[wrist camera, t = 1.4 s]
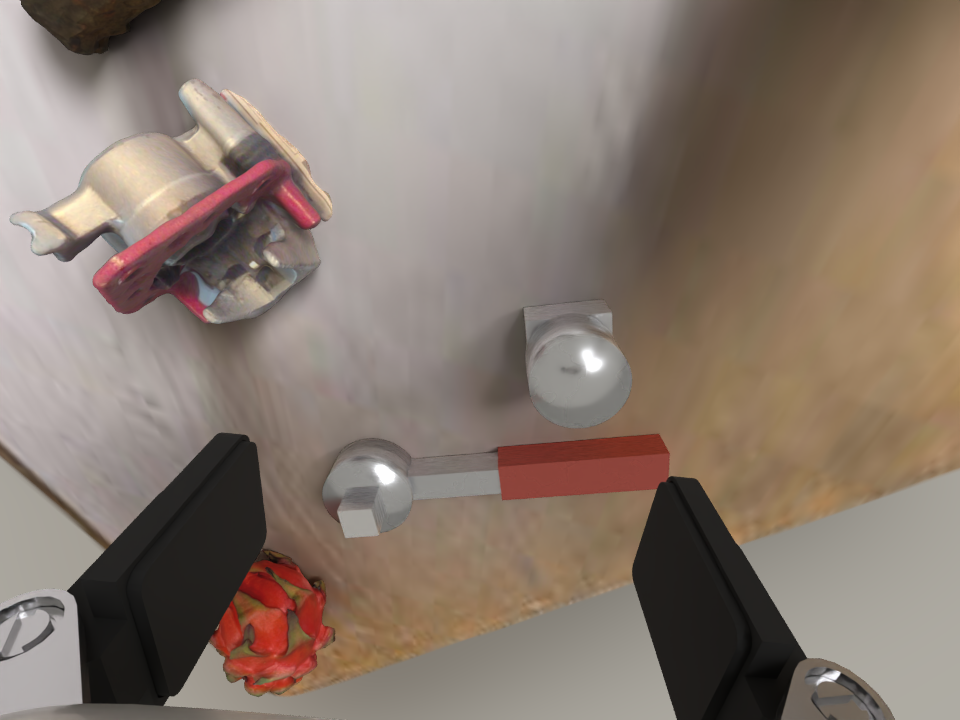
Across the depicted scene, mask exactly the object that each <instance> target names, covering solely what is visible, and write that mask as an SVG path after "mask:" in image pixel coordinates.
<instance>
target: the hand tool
mask: <svg viewBox="0 0 960 720" xmlns="http://www.w3.org/2000/svg"><path fill="white" fill-rule="evenodd" d="M20 1H21V5H22V7H23V8H24V10H25V11H26V12H27V13H28V14H29V15H30V16H31V17H32V18H33V19H34V20H35V21H36V22H38V23H39V24H40V25H42V26H43V27H44V28H46V29H47V30H48V31H49V32H50V33H51V34H52V35H53V36H54V37H56V38H57V39H58V40H59V41H60V42H61V43H62V44H63V45H64V46H65V47H66V48H67V49H68V50H70V51H72V52H75V53H78V54H83V55H91V54H93V53H98V54H102V53H104V52H106V51H108V46H109V37H110V36H115V35H119V34H124V33H126V32H128V31H130V25H129V22H130V21H131V20H133V19H134V18H135V17H137V16H138V15H139V14H140V13H142V12H143V11H144V10H146V9H149V8H151V7H153V6H155V5H157V4H158V3H159V2H160V1H161V0H20Z"/></svg>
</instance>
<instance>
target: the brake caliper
mask: <svg viewBox="0 0 960 720" xmlns="http://www.w3.org/2000/svg"><path fill="white" fill-rule="evenodd" d="M179 97H180V99H181V101H182V102H183V104H184V105H185V107H186V109H187V110H188V112H189V114H190V115H191V117H192V118H193V119H194V121H195V123H196V126H195V128H193V129H191V130H189V131H187V132H185V133H183V134H182V135H180V136H177V137H173V138H171V137H169V136H167V135H164V134H161V133H154V132H145V133H139V134H135V135H132V136H130V137H127V138H124V139H121V140H119V141H117V142H115V143H114V144H112V145H111V146H109V147H108V148H107V149H105V150H104V151H103V152H101V153H100V154H99V155H98V156H96V157H95V158H94V159H93V160H92V161H91V162H90V163H89V164H88V166H87V167H86V168H85V170H84V171H83V173H82V175H81V179H80V182H79V185H78V188H77V190H76V191H75V192H74V193H73V194H71V195H70V196H68V197H66V198H64V199H62V200H60V201H58V202H56V203H54V204H53V205H51V206H50V207H48V208H46V209H44V210H41V211H37V212H32V211H22V212H17V213H15V214H12V215H11V216H10V218H9V219H10V222H11V223H12V224H13V225H18V226H21V227H24V228H26V229H27V230H29V231H30V233H31V235H32V242H31V251H32V252H33V253H34V254H36V255H39V256H42V255H47V254H51V253H53V254H54V255H55V256H56V258H57V259H58V260H60V261H63V262H68V261H71V260H72V259H73V258H74V257H75V256H76V255H77V254H78V253H79V252H81V251H82V250H84V249H85V248H87V247H88V246H89V245H90V244H91V243H92V242H93V241H94V240H95V239H96V238H97V237H99V236H100V235H101V236H102V237H103V238H104V239H105V240H106V241H107V242H108V244H110V245H111V246H112V247H113V248H114V249H115V250H116V251H117V252H118V254H116V255H114V256H112V257H111V258H110V259H109V260H108V261H107V262H106V263H105V264H104V265H103V266H102V267H101V268H100V269H99V270H98V271H97V272H96V274H95V275H94V277H93V285H94V287H95V288H97V289H98V290H99V292H100V293H101V294H102V295H103V297H104V298H105V299H106V301H107V302H108V303H109V304H111V305H112V306H113V307H114V309H115V310H116V311H117V312H121V313H123V314H130V313H134V312H136V311H138V310H140V309H141V308H142V307H143V306H145V305H147V304H148V303H150V302H152V301H153V300H155V299H156V298H157V297H159V296H161V295H163V294H166V293H170V294H172V295H174V296H175V297H176V298H177V299H178V300H179V301H181V302H182V303H183V304H184V305H185V306H186V307H187V308H188V309H189V310H190V311H191V312H192V313H193V314H194V315H196V316H197V317H198V318H199V319H200V320H202V321H203V322H204V323H207V324H209V323H216V324H221V323H227V322H232V321H238V320H241V319H252V318H255V317H257V316H259V315H261V314H263V313H265V312H266V311H267V310H268V309H270V308H271V307H272V306H274V305H275V304H276V303H277V302H278V301H279V300H280V299H281V298H282V297H283V295H284V294H285V293H286V292H287V291H288V290H289V289H290V288H291V287H292V286H294V285H295V284H297V283H298V282H300V281H301V280H302V279H304V278H305V277H306V276H307V275H308V274H310V273H311V272H312V271H313V270H315V269H316V268H317V267H318V266H319V265H320V262H321V260H320V258H319V255H318V253H317V249H316V246H315V244H314V239H313V237H312V234H311V232H310V230H309V229H312V228H314V227H316V226H317V225H318V224H319V223H320V221H321V219H322V220H323V221H328V220H329V218H330V217H331V216H332V202H331V199H330V196H329V195H328V193H326V192H324V191H323V190H321V189H320V188H319V187H317V185H316V184H315V183H314V182H313V180H312V177H311V173H310V168H309V165H308V163H307V161H306V160H305V159H304V157H303V156H302V155H301V154H300V153H299V152H298V150H297V149H296V148H295V147H294V146H293V145H291V144H290V143H289V142H288V141H287V140H286V139H285V138H283V137H282V136H280V135H279V134H277V132H276V131H275V130H274V129H273V128H272V127H271V126H270V125H269V124H268V123H267V122H266V121H265V119H264V118H263V116H262V115H261V114H260V113H259V112H258V111H257V110H256V109H255V108H254V107H253V106H252V105H250V104H249V103H248V102H247V101H246V100H245V99H244V98H243V97H241V96H238V95H236V94H234V93H232V92H231V91H229V90H227V89H224V90H222V91H221V93H220V95H219V94H218V93H217V92H215V91H214V90H213V89H212V88H210V87H209V86H208V85H206V84H205V83H204V82H202V81H200V80H198V79H191V80H189V81H187V82H186V83H184V84H183V85H182V87H181V88H180V90H179Z"/></svg>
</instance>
